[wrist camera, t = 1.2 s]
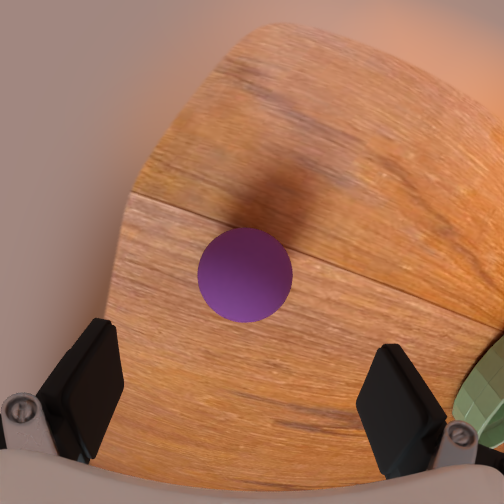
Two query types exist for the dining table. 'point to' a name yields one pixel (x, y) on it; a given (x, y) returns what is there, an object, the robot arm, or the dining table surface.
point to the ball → (245, 275)
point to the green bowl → (484, 397)
